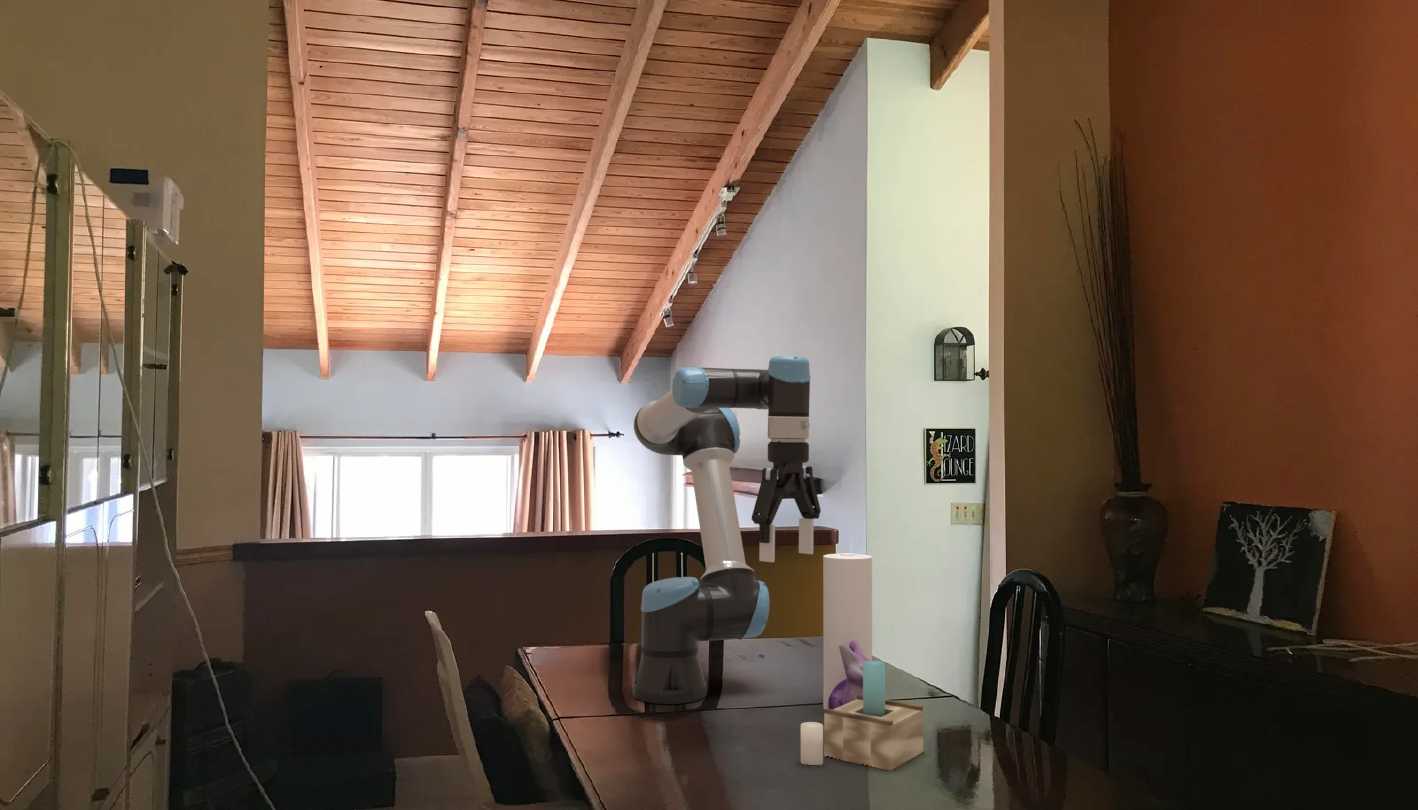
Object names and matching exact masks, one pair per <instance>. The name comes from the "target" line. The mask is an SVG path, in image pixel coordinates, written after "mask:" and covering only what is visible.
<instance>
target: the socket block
mask: <svg viewBox="0 0 1418 810" xmlns="http://www.w3.org/2000/svg"><path fill="white" fill-rule="evenodd" d="M823 711H824V712H823V714H824V715H823V717H824V718H823V722H824V723H823V724H824V725H823V757H826V756H829V757H828V758H830V757H833V758H832V759H835V758H836V759H835V760H839V759H840V761H844V762H849V763H853V764H858V765H862V764H864V765H863V766H866V765H868V767H871V766H872V767H871V768H875V767H876V768H875V769H880V770H885V771H889V772H891V771H893V770H895V769H896V768H898V767H901V766H902V765H904V764H905V763H907V762H908V761H910V760H912V759H913V758H915V757H918V756H919V755H920V754H922V753H924V706H923V705H918V704H914V703H909V702H908V703H907V702H902V701H895V700H890V699H887V698H885V715H884V716H882V717H877V716H871V715H866V714H863V695H857V699H856V700H854V701H852V702H849V703H847V704H845V705H842V706H840V707H838V708H835V709H833V710H832V709H824V708H823Z"/></svg>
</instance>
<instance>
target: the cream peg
mask: <svg viewBox="0 0 1418 810" xmlns="http://www.w3.org/2000/svg"><path fill="white" fill-rule="evenodd" d="M823 724H824V723H820V722H815V721H807V722H806V721H805V722H802V723H801V724H800V764H801V763H802V764H801V765H803V764H808V765H820V766H822V765H823V763H824V725H823ZM821 764H822V765H821Z"/></svg>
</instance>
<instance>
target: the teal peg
mask: <svg viewBox="0 0 1418 810" xmlns="http://www.w3.org/2000/svg"><path fill="white" fill-rule="evenodd" d="M885 699H886V663H885V662H884V661H880V660H872V661H864V662H863V714H866V715H871V716H877V717H882V716H884V715H885Z"/></svg>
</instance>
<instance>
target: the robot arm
mask: <svg viewBox="0 0 1418 810" xmlns="http://www.w3.org/2000/svg"><path fill="white" fill-rule="evenodd" d="M810 389H811V373H810V361H809V359H808V358H807V357H805V356H799V355H795V356H794V355H779V356H778V355H777V356H775V355H774V356H772V357H771V358H770V359H769V361H768V368H767V369H760V368H759V369H757V368H756V369H755V368H751V369H750V368H725V367H724V368H721V367H719V368H717V367H701V366H692V367H690V366H689V367H679V368H678V369H677V370H676V371H675V373H674V377H673V379H672V385H671V389H670V390H669V391H668V392H667V393H665V394H664V395H663V396H662V397H661V398H659V399H658V400H652V401H649V402H647V403H645V404H644V405H643V406H642V407H641V408H640V409H639V410H638V411H637V412H636V415H635V416H634V420H633V431H634V434H635V437H636V439H637V440H638V441H639V443H641V445H642V446H644V447H645V449H647V450H649V451H651V452H654V453H656V454H659V455H662V456H663V455H665V456H682V461H683V463H682V464H683V466H684V467H685V468H686V469H688V470H689V471H691V476H692V477H691V478H692V482H693V483H692V484H693V485H692V486H693V490H694V491H693V492H694V496H695V503H696V504H695V505H696V510H697V517H698V524H699V530H700V539H701V543H702V544H701V545H702V549H703V556H704V558H703V559H704V563H705V572H704V573H703V574H702V576H701V577H700V581H699V579H698V578H696V577H694V576H683V577H679V576H677V577H670V578H669V577H668V578H664V579H660V580H656V581H653V582H649V584H647V585H645V587H644V588H643V590H642V593H641V595H642V596H641V605H640V611H641V640H640V641H641V642H640V643H641V652H640V653H641V657H640V659H639V663H638V665H637V666H638V667H637V670H636V672H635V675H634V676H635V678H634V680H633V682H632V697H633V698H634V699H636V700H638V701H640V702H644V703H649V704H651V703H652V704H659V705H666V704H667V705H675V704H677V705H678V704H687V703H693V702H696V701H700V700H702V699H704V698H705V697H706V696H707V693H708V692H707V681H706V679H705V677H704V673H703V672H704V671H703V668H702V665H701V662H700V658H699V642H709V641H710V642H711V641H725V640H726V641H727V640H739V641H741V640H743V639H751V638H755V637H758V636H760V635H761V634H762V633H763V632H764V630H765V628H766V625H767V622H768V619H769V615H770V614H769V613H770V593H769V588H768V587H767V585H766V583H765V582H764V581H761V580H756V575H755V570H754V569H753V568H752V567H750V566H749V565H748V564H746V558H745V552H744V546H743V540H742V535H741V530H740V529H741V528H740V522H739V515H738V511H737V505H736V503H737V502H736V498H735V493H734V487H733V481H732V476H731V475H732V474H731V469H730V465H731V463H732V462H733V460H734V459H735V455H736V454H737V452H738V451H739V449H740V444H741V439H740V436H741V431H740V430H741V429H740V423H739V421H738V418H737V416H736V414H735V412H734V411H733V410H732V409H756V410H764V411H765V410H768V411H767V438H768V439H770V441H769V442H768V443H767V461H768V462H769V463H773V466H772V467H771V468H770V467H763V468H762V473H761V483H760V485H759V489H758V493H757V495H756V500H755V503H754V508H753V511H752V515H751V521H753V523H754V525H755V524H756V525H759V527H758V528H759V530H758V536H759V540H758V541H759V555H758V556H759V558H758V559H759V562H764V563H765V562H766V563H775V562H776V561H775V559H776V558H775V557H776V555H775V554H776V553H775V551H776V548H775V547H776V525H775V524H773V521H774V520H775V517H776V515H777V512H778V510H779V508H780V506H781V503H782V501H783V499H784V497H785V496H786V495H787V494H788V493H791V495H792V498H793V499H794V503H796V506H797V508H798V511H799V513H800V515H801V517H800V518H798V554H803V555H804V554H805V555H814V529H815V527H814V525H815V524H814V523H815V521H814V519H817V520H819V518H820V514H821V507H820V502H819V497H818V494H817V489H816V486H815V482H814V476H813V475H814V474H813V467H812V466H810V465H809V466H807V465H803V464H805V463H808V462H809V461H810V444H809V442H806V440H808V439H809V438H810V432H809V431H810V426H811V424H810V418H809V417H810V394H811V393H810Z"/></svg>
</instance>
